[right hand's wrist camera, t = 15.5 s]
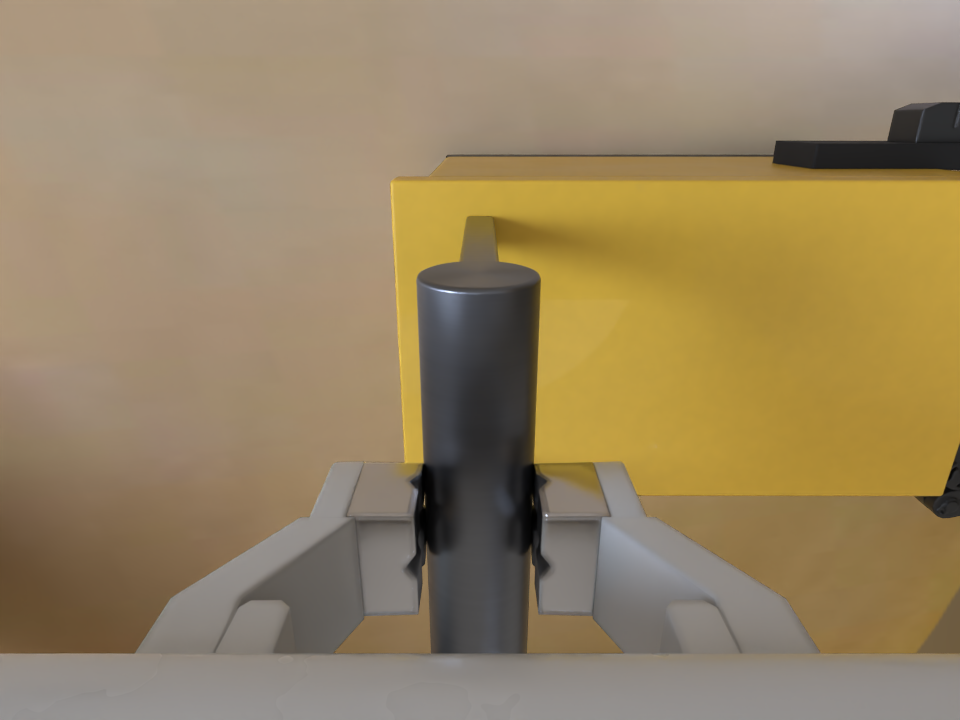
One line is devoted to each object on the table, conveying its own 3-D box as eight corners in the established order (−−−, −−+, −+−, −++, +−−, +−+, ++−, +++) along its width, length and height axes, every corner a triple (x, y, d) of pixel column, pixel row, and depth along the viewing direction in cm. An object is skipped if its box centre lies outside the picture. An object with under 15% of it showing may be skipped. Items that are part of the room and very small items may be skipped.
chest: (451, 355, 29) (435, 475, 19) (447, 154, 26) (426, 175, 16) (769, 356, 29) (918, 476, 19) (808, 154, 26) (1011, 175, 16)
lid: (410, 476, 19) (357, 738, 11) (395, 176, 16) (303, 234, 8) (918, 477, 19) (1243, 741, 11) (1012, 176, 16) (1580, 235, 8)
